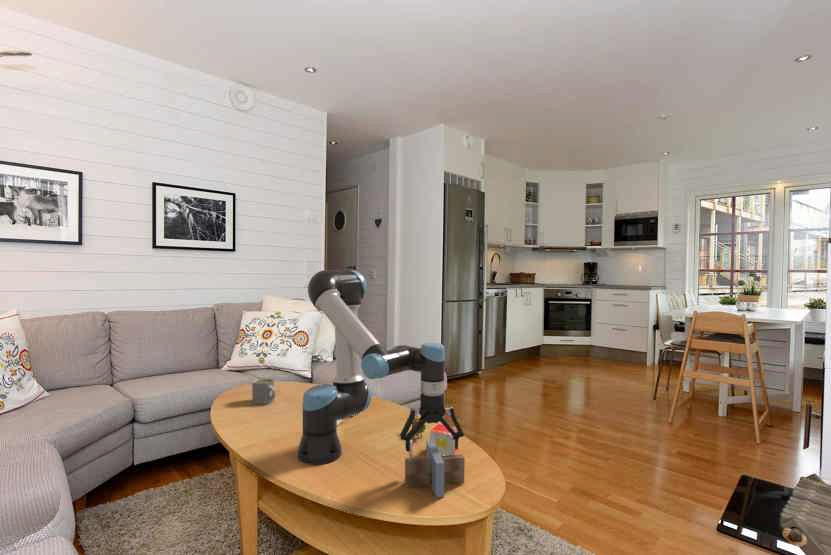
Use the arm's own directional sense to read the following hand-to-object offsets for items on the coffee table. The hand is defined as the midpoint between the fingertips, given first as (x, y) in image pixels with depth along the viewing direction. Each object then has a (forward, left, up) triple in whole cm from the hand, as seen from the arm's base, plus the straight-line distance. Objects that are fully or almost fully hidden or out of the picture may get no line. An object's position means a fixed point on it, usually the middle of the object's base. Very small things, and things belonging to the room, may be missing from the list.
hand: (431, 459), depth 138 cm
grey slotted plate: (0, -5, -5) cm, 7 cm away
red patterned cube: (+8, +18, -5) cm, 20 cm away
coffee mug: (-66, +83, -5) cm, 106 cm away
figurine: (0, +33, -5) cm, 33 cm away
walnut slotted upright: (0, -5, -5) cm, 7 cm away
